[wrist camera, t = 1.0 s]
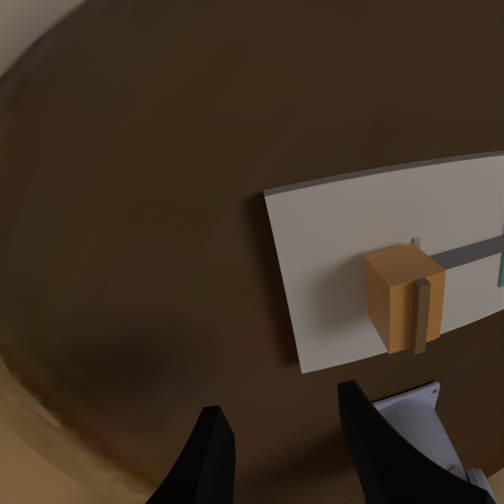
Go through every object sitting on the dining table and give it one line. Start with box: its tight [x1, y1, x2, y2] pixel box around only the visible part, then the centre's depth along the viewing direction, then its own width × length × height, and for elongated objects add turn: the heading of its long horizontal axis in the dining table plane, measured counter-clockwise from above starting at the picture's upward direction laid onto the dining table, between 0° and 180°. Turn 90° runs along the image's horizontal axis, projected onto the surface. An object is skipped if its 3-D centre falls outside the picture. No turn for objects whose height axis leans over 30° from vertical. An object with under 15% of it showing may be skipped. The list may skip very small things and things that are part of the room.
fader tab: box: [364, 243, 446, 355], centre depth 15 cm, size 4×3×4 cm
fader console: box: [263, 150, 504, 373], centre depth 18 cm, size 12×28×2 cm, turn 103°
